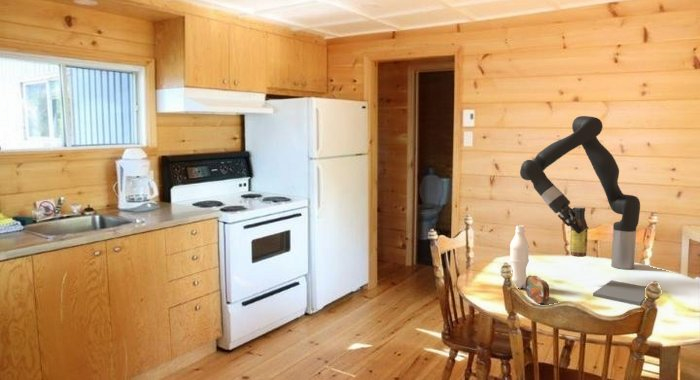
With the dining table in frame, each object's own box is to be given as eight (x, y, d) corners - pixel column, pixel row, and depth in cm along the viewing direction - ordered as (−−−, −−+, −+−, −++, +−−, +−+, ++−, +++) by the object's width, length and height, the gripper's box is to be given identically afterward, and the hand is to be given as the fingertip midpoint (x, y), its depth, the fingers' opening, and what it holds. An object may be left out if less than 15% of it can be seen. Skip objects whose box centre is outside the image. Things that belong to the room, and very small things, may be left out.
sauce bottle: (588, 257, 205) (590, 208, 202) (571, 257, 206) (573, 208, 203) (584, 253, 211) (586, 206, 209) (568, 253, 212) (570, 205, 210)
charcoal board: (611, 283, 210) (611, 280, 210) (655, 291, 199) (655, 288, 199) (593, 296, 194) (593, 293, 194) (639, 305, 184) (640, 302, 183)
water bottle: (527, 285, 209) (529, 224, 206) (527, 290, 202) (529, 228, 199) (509, 283, 211) (511, 223, 208) (508, 288, 204) (510, 227, 201)
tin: (524, 293, 198) (525, 272, 197) (532, 293, 198) (533, 272, 198) (542, 307, 183) (542, 284, 182) (550, 306, 184) (551, 283, 183)
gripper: (555, 195, 205) (584, 228, 199) (568, 191, 216) (597, 222, 209) (541, 207, 210) (570, 239, 203) (555, 203, 220) (583, 233, 214)
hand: (583, 231), depth 206 cm, fingers closed on sauce bottle, 6 cm apart
